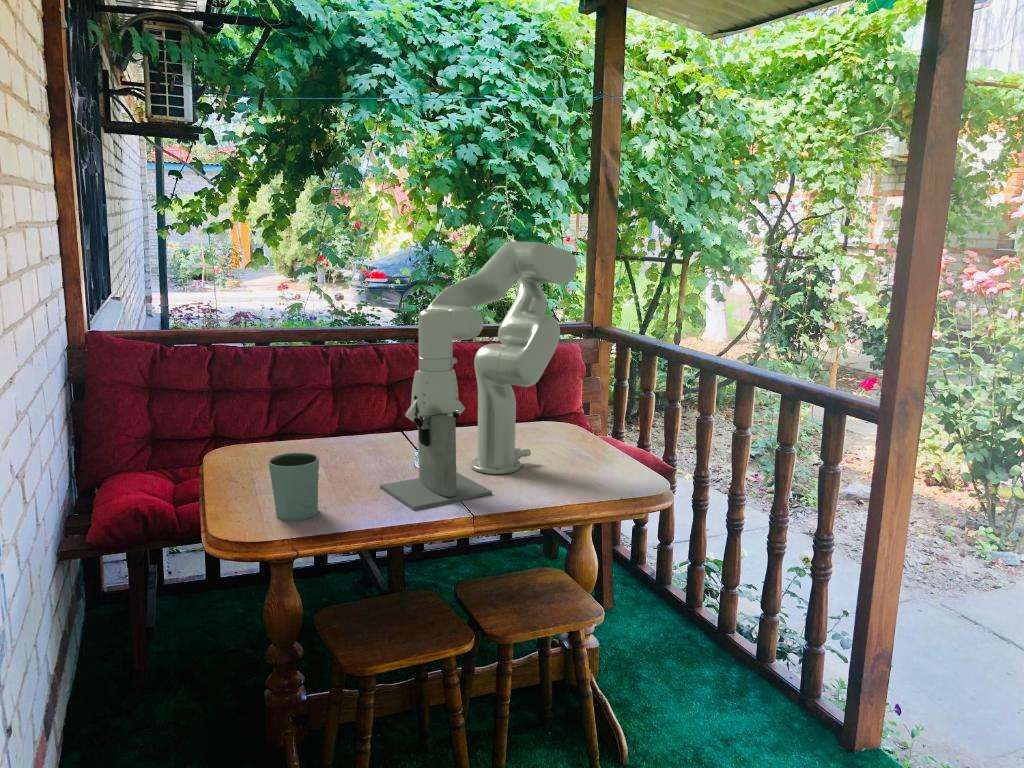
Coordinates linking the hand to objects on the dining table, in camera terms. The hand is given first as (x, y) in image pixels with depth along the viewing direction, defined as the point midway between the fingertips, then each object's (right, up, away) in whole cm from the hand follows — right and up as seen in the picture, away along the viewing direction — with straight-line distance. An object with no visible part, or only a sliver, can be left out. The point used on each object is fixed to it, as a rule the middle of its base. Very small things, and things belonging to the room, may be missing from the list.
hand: (435, 442), depth 179 cm
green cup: (-28, -14, -13) cm, 34 cm away
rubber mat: (0, -11, +2) cm, 12 cm away
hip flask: (0, -11, +2) cm, 11 cm away
